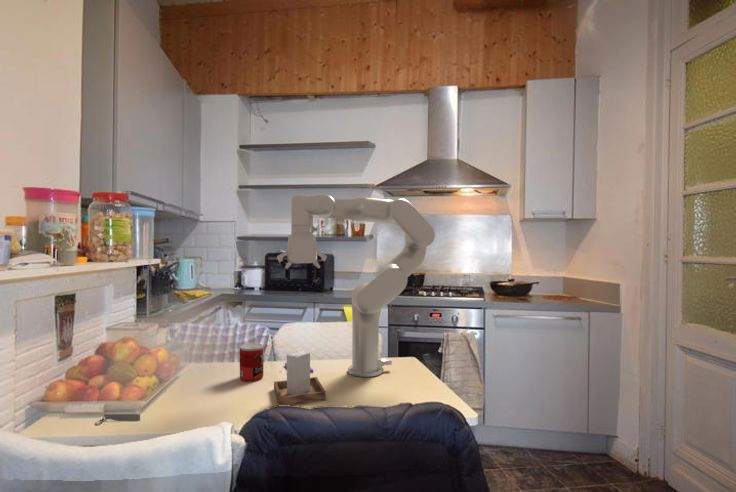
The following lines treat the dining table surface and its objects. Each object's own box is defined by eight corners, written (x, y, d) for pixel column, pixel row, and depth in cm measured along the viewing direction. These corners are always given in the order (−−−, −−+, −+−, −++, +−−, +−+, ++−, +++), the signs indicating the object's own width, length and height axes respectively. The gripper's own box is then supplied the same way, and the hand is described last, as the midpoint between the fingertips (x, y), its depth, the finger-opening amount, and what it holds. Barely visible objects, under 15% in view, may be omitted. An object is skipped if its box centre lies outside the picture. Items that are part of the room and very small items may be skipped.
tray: (316, 384, 130) (316, 376, 130) (325, 400, 117) (325, 391, 117) (274, 389, 126) (274, 381, 126) (278, 406, 113) (278, 397, 113)
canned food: (257, 382, 132) (257, 349, 132) (235, 381, 133) (235, 348, 133) (267, 375, 139) (267, 343, 139) (246, 373, 141) (246, 342, 141)
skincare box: (301, 388, 126) (301, 349, 125) (311, 391, 123) (311, 352, 123) (285, 393, 121) (285, 354, 121) (295, 397, 118) (295, 356, 118)
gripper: (324, 231, 146) (324, 278, 146) (275, 230, 140) (275, 279, 140) (328, 230, 139) (328, 280, 139) (278, 230, 133) (278, 281, 133)
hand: (302, 279), depth 140 cm, fingers open, 9 cm apart
